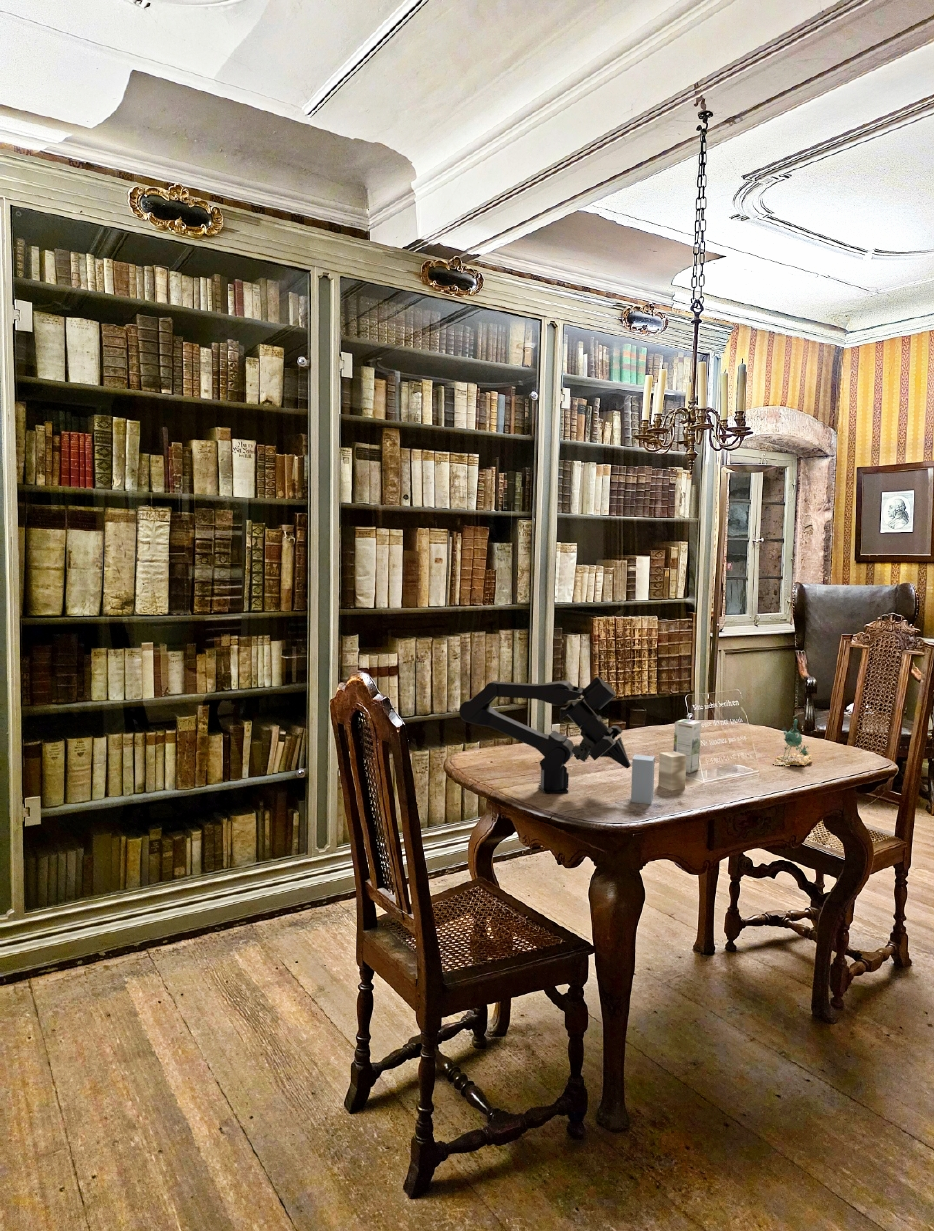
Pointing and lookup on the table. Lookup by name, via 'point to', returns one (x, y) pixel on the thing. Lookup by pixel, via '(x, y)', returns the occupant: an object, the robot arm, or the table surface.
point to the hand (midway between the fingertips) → (628, 767)
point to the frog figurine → (793, 740)
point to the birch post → (672, 770)
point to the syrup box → (688, 742)
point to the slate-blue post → (642, 779)
